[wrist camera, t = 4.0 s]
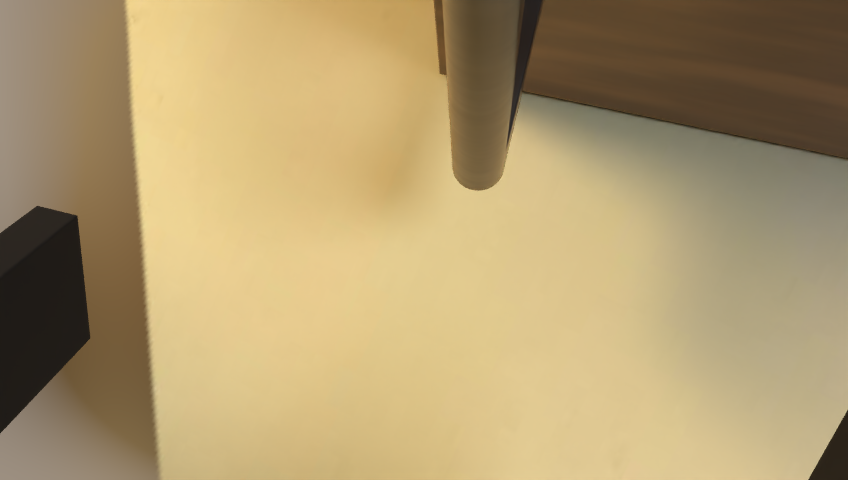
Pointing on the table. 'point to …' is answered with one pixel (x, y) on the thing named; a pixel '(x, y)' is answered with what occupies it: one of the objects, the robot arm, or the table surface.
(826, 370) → the table surface
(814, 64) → the cupboard door
